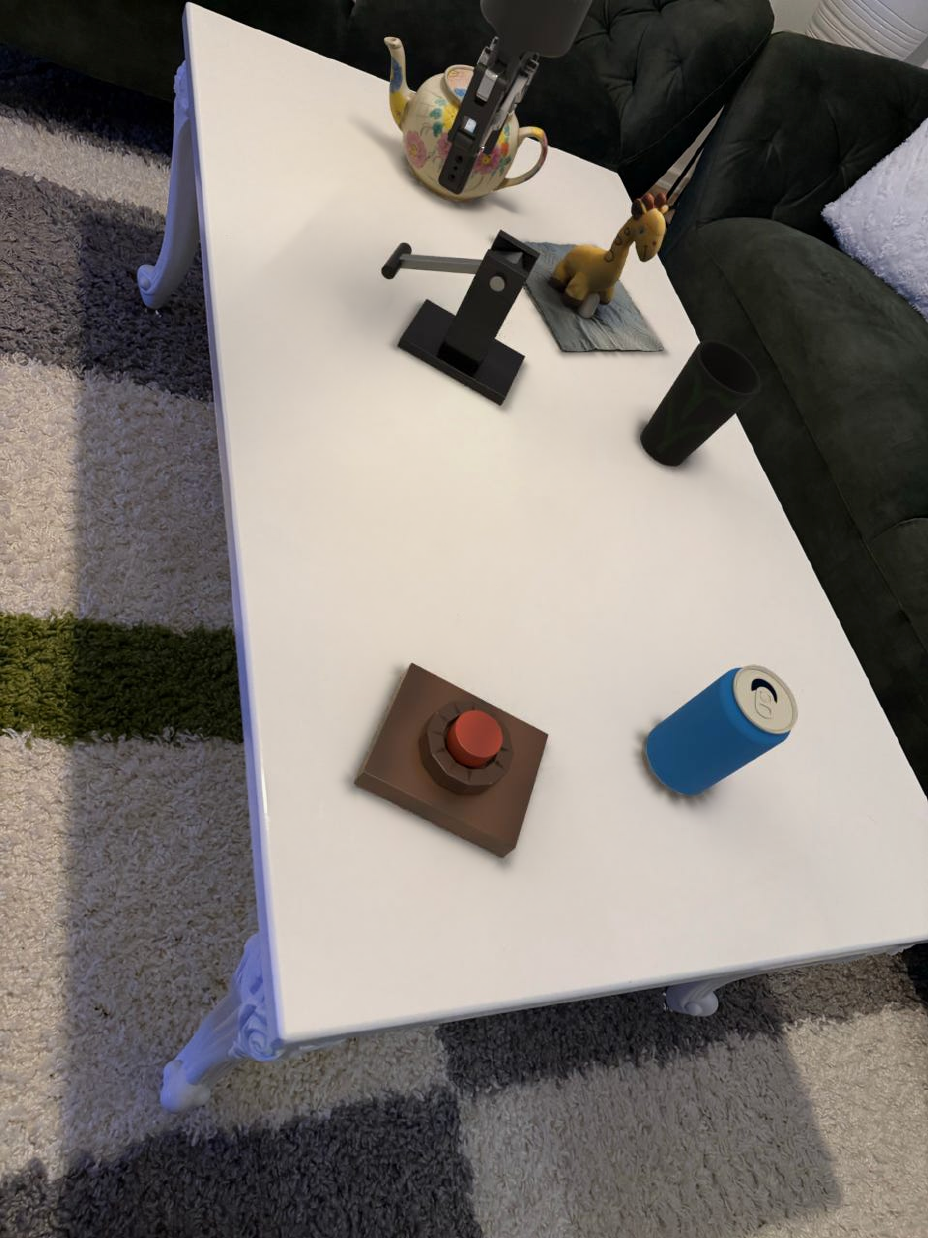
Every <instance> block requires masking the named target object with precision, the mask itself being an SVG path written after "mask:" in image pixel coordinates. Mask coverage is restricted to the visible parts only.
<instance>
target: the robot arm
mask: <svg viewBox="0 0 928 1238" xmlns="http://www.w3.org/2000/svg"><path fill="white" fill-rule="evenodd" d="M593 1H594V0H480V1H479V3H480V9H481V13H482V15H483V18H484V19H485V21H486V22H487V23H488V24H489V25H490V26H492V28H493V29H494V31H495V33H496V35H497V36H494V38H493V39H492V41H491V43H490V45H489V47H488V46H487V45H486V46H485V47H484V48H483V50H482V52H481V54H480V56H479V58H478V60H477V63H476V65H474V66H473V67H474V69H473V76H472V78H471V80H470V83H469V85H468V88H467V90H466V93H465V95H464V98H463V100H462V103H461V105H460V108H459V110H458V113H457V115H456V118H455V120H454V123H453V125H452V127H451V129H450V130H449V132H448V134H447V135H448V138H447V141H448V142H450V143H451V144H452V145H451V147H450V150H449V152H448V155H447V157H446V160H445V162H444V165H443V167H442V170H441V172H440V175H439V177H438V182H439V184H440V185H441V186H442V187H444V188H446V189H447V190H449V191H451V192H452V193H454V194H456V195H459V194H461V193H462V191H463V190H464V188H465V186H466V184H467V181H468V179H469V177H470V174H471V172H472V170H473V167H474V165H475V163H476V160H477V158H478V156H479V154H480V153H484V154H485V155H489V154H491V153H492V151H493V150H494V148H495V146H496V144H497V141H498V139H499V137H500V134H501V132H502V130H503V128H504V125H505V123H506V121H507V119H508V116H509V114H508V113H510V114H511V113H512V111H513V110H515V111H516V109H517V106H518V104H519V103H521V102H522V100H523V98H524V96H525V94H526V93H527V90H529V89H528V88H529V87H530V84H531V82H532V81H533V79H534V77H535V75H536V73H537V72H538V68H539V66H540V63H539V62H538V61H539V59H540V57H544V58H553V59H554V58H560V57H563V56H565V55H566V54H567V53H569V51H570V50H571V48H572V46H573V44H574V41H575V39H576V37H577V35H578V33H579V30H580V29H581V26H582V24H583V22H584V20H585V18H586V16H587V14H588V12H589V9H590V7H591V6H592V3H593ZM469 119H472V120H474V121H475V122H477V123H476V125H475V128H474V130H473V133H471V132H470V131H468V130H466V129H465V126H466V124H467V122H468V121H469Z"/></svg>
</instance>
